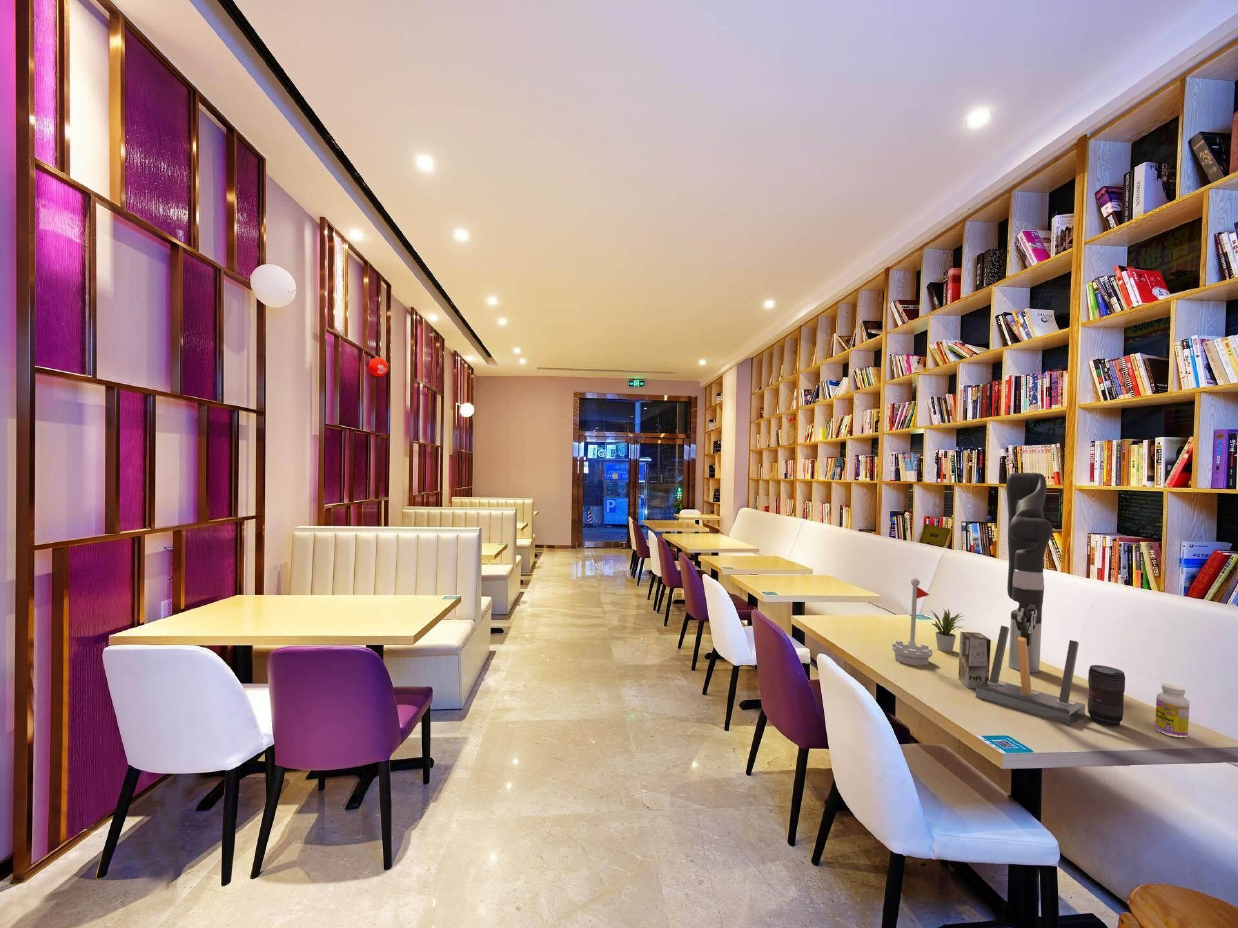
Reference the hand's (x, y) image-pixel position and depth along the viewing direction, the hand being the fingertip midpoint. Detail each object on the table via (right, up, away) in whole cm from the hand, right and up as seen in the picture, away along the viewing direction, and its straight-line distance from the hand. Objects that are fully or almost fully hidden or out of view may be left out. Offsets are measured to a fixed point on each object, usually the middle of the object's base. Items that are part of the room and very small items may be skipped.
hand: (1025, 645), depth 177 cm
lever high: (+8, -15, -5) cm, 18 cm away
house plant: (+9, -20, +58) cm, 62 cm away
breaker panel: (+3, -19, +4) cm, 20 cm away
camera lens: (+18, -20, -7) cm, 28 cm away
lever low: (-4, -15, +9) cm, 18 cm away
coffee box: (-4, -19, +20) cm, 28 cm away
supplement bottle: (+32, -21, -12) cm, 40 cm away
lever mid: (+2, -15, +2) cm, 15 cm away
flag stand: (-12, -19, +44) cm, 49 cm away
